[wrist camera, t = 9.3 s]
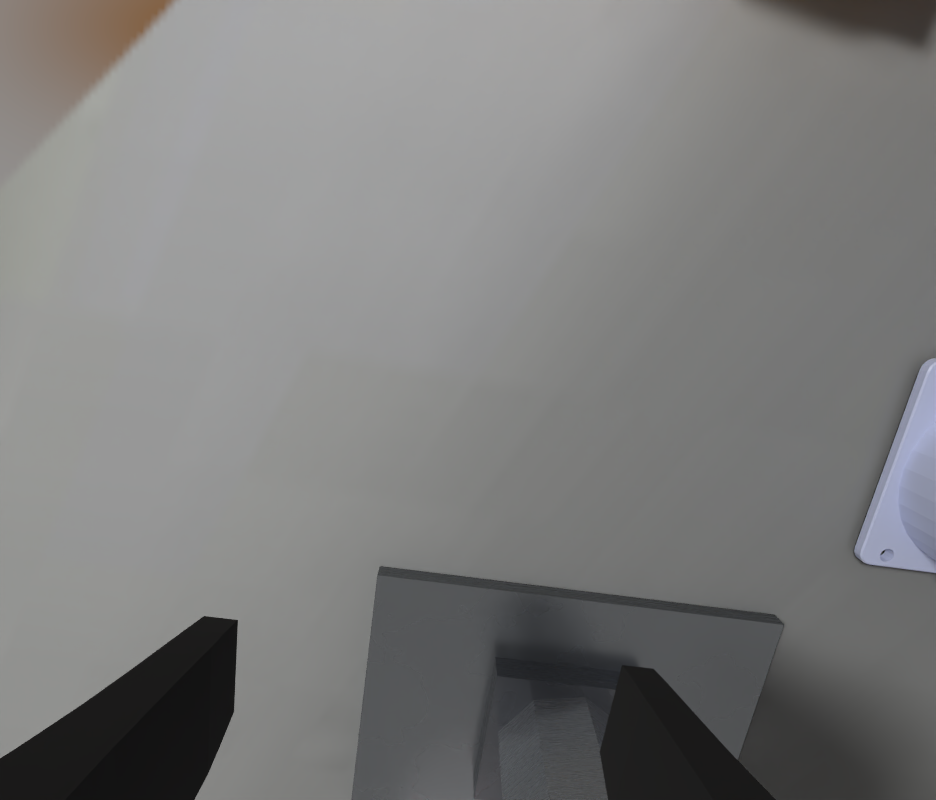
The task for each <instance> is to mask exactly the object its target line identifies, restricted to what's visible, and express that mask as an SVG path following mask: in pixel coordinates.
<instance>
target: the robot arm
mask: <svg viewBox="0 0 936 800" xmlns="http://www.w3.org/2000/svg"><path fill="white" fill-rule="evenodd" d="M884 550H885V552H884V553H883V554H882V555H880V554H881V553H882V551H884ZM854 552H855V556H856V557H857V558H858V559H860V560H861V561H862V562H864V563H866V564H869V565H876V566H884V567H892V568H900V569H907V570H915V571H923V572H931V573H936V358H932V359H930V360H928V361H926V362H925V363H924V364H923V365H922V367H921V368H920V370H919V373H918V376H917V379H916V381H915V384H914V387H913V390H912V392H911V395H910V398H909V400H908V403H907V406H906V409H905V411H904V414H903V417H902V420H901V422H900V425H899V428H898V431H897V433H896V436H895V439H894V442H893V444H892V447H891V450H890V453H889V455H888V458H887V461H886V463H885V466H884V469H883V472H882V474H881V477H880V480H879V483H878V485H877V488H876V491H875V494H874V496H873V499H872V502H871V505H870V507H869V510H868V513H867V515H866V518H865V521H864V524H863V526H862V529H861V532H860V535H859V537H858V540H857V543H856V546H855V550H854ZM237 625H238V620H232V619H223V618H215V617H206V616H204V617H202V618H201V619H200V620H198V621H197V622H196V623H194V624H193V625H191V626H190V627H188V628H187V629H186V630H184V631H183V632H182V633H180V634H179V635H177V636H176V637H175V638H173V639H172V640H171V641H169V642H168V643H167V644H165V645H164V646H163V647H161V648H160V649H159V650H157V651H156V652H154V653H153V654H152V655H150V656H149V657H148V658H146V659H145V660H144V661H142V662H141V663H140V664H138V665H137V666H135V667H134V668H133V669H131V670H130V671H129V672H127V673H126V674H124V675H123V676H122V677H120V678H119V679H117V680H116V681H115V682H113V683H112V684H110V685H109V686H108V687H106V688H105V689H103V690H102V691H101V692H99V693H98V694H96V695H95V696H94V697H92V698H91V699H89V700H88V701H86V702H85V703H84V704H82V705H81V706H79V707H78V708H76V709H75V710H73V711H72V712H70V713H69V714H67V715H66V716H64V717H63V718H61V719H60V720H58V721H57V722H55V723H54V724H52V725H51V726H49V727H48V728H46V729H45V730H43V731H42V732H40V733H39V734H37V735H36V736H34V737H33V738H31V739H30V740H28V741H27V742H25V743H24V744H22V745H21V746H19V747H18V748H16V749H15V750H13V751H11V752H10V753H8V754H7V755H5V756H3V757H2V758H0V800H194V799H195V797H196V795H197V793H198V792H199V790H200V788H201V786H202V784H203V782H204V780H205V778H206V776H207V775H208V772H209V770H210V768H211V765H212V763H213V761H214V758H215V756H216V754H217V751H218V749H219V747H220V744H221V742H222V740H223V737H224V735H225V732H226V730H227V727H228V725H229V722H230V720H231V717H232V715H233V713H234V696H235V673H236V649H237ZM600 756H601V762H602V768H603V774H604V780H605V786H606V791H607V796H608V800H775V799H774V798H773V797H772V796H771V795H770V794H769V793H768V792H767V790H766V789H765V788H764V787H763V786H762V785H761V784H760V783H759V782H758V781H757V780H756V779H755V778H754V777H753V776H752V775H751V774H750V773H749V772H748V771H747V770H746V769H745V768H744V767H743V765H742V764H741V763H740V762H739V761H738V760H737V759H736V758H735V757H734V756H733V755H732V754H731V753H730V752H729V750H728V749H727V748H726V747H725V746H724V745H723V744H722V743H721V742H720V741H719V740H718V738H717V737H716V736H715V735H714V734H713V733H712V732H711V731H710V730H709V729H708V728H707V726H706V725H705V724H704V723H703V722H702V721H701V720H700V719H699V718H698V716H697V715H696V714H695V713H694V712H693V711H692V710H691V709H690V708H689V707H688V705H687V704H686V703H685V702H684V701H683V700H682V699H681V698H680V697H679V695H678V694H677V693H676V692H675V691H674V690H673V689H672V688H671V687H670V686H669V684H668V683H667V682H666V681H665V680H664V679H663V678H662V677H661V676H660V675H659V674H658V673H657V672H656V671H655V670H654V669H652V668H643V667H635V666H626V665H622V667H621V671H620V675H619V679H618V683H617V686H616V690H615V694H614V698H613V702H612V706H611V710H610V713H609V717H608V721H607V725H606V729H605V733H604V737H603V741H602V744H601V748H600Z"/></svg>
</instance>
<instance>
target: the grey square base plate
mask: <svg viewBox="0 0 936 800" xmlns="http://www.w3.org/2000/svg"><path fill="white" fill-rule="evenodd" d="M783 626H784V625H783V623H782V622H781V621H780V620H779V619H778V618H777V617H776V616H775V615H771V614H763V613H755V612H747V611H739V610H730V609H722V608H714V607H706V606H698V605H690V604H682V603H673V602H665V601H657V600H649V599H641V598H633V597H625V596H616V595H608V594H600V593H592V592H584V591H576V590H568V589H559V588H551V587H543V586H535V585H527V584H519V583H511V582H503V581H494V580H486V579H478V578H470V577H462V576H454V575H446V574H437V573H429V572H421V571H413V570H405V569H397V568H389V567H380V568H379V572H378V575H377V584H376V592H375V601H374V609H373V618H372V627H371V635H370V644H369V653H368V661H367V670H366V678H365V687H364V696H363V704H362V713H361V722H360V730H359V739H358V748H357V756H356V765H355V773H354V782H353V791H352V799H351V800H503V797H502V784H501V769H500V752H499V736H498V731H499V730H501V729H502V728H503V727H504V726H505V725H506V724H507V723H508V722H509V721H510V720H511V719H513V718H514V717H515V716H516V715H517V714H518V713H519V712H520V711H521V710H522V709H524V708H525V707H526V706H527V705H528V704H529V703H530V702H531V701H532V700H537V699H553V698H570V697H586V698H587V699H589V700H590V701H591V702H593V703H594V704H595V705H597V706H598V707H599V708H601V709H602V710H603V711H604V712H606V713H607V714H608V715H609V713H610V710H611V706H612V702H613V698H614V694H615V690H616V686H617V683H618V679H619V675H620V671H621V667H622V665H626V666H635V667H643V668H652V669H654V670H655V671H656V672H657V673H658V674H659V675H660V676H661V677H662V678H663V679H664V680H665V681H666V682H667V683H668V684H669V686H670V687H671V688H672V689H673V690H674V691H675V692H676V693H677V694H678V695H679V697H680V698H681V699H682V700H683V701H684V702H685V703H686V704H687V705H688V707H689V708H690V709H691V710H692V711H693V712H694V713H695V714H696V715H697V716H698V718H699V719H700V720H701V721H702V722H703V723H704V724H705V725H706V726H707V728H708V729H709V730H710V731H711V732H712V733H713V734H714V735H715V736H716V737H717V738H718V740H719V741H720V742H721V743H722V744H723V745H724V746H725V747H726V748H727V749H728V750H729V752H730V753H731V754H732V755H733V756H734V757H735V758H736V759H737V760H738V758H739V755H740V752H741V749H742V746H743V743H744V740H745V737H746V734H747V731H748V728H749V725H750V723H751V720H752V717H753V714H754V711H755V708H756V705H757V702H758V699H759V696H760V693H761V690H762V687H763V684H764V682H765V679H766V676H767V673H768V670H769V667H770V664H771V661H772V658H773V655H774V652H775V649H776V646H777V644H778V641H779V638H780V635H781V632H782V629H783Z"/></svg>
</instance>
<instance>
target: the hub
mask: <svg viewBox="0 0 936 800" xmlns="http://www.w3.org/2000/svg"><path fill="white" fill-rule="evenodd" d="M608 717H609V715H608V714H607V713H606V712H604V711H603V710H602V709H601V708H599V707H598V706H597V705H595V704H594V703H593V702H591V701H590V700H589V699H587V698H586V697H570V698H553V699H537V700H532V701H531V702H530V703H529V704H528V705H527V706H526V707H525V708H524V709H522V710H521V711H520V712H519V713H518V714H517V715H516V716H515V717H514V718H513V719H511V720H510V721H509V722H508V723H507V724H506V725H505V726H504V727H503V728H502V729H501V730H499V731H498V736H499V752H500V769H501V784H502V797H503V800H608V796H607V791H606V786H605V780H604V774H603V768H602V762H601V756H600V748H601V744H602V741H603V737H604V733H605V729H606V725H607V721H608Z"/></svg>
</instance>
